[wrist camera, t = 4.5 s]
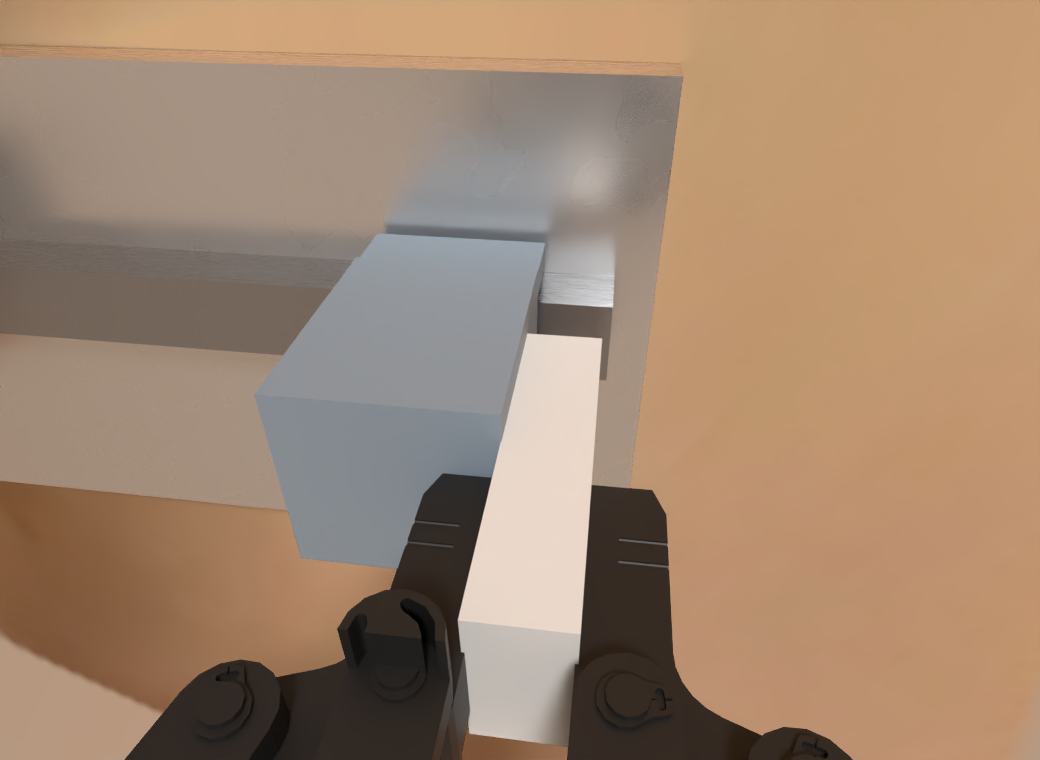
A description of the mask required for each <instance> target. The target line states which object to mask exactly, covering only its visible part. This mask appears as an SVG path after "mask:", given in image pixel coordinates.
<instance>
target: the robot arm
mask: <svg viewBox="0 0 1040 760" xmlns="http://www.w3.org/2000/svg"><path fill="white" fill-rule="evenodd" d="M601 347H602V338H588V337H573V336H558V335H542V334H527V337H526V341H525V346H524V350H523V354H522V358H521V362H520V367H519V371H518V375H517V379H516V383H515V388H514V392H513V396H512V400H511V404H510V408H509V413H508V417H507V421H506V425H505V429H504V434H503V438H502V442H501V443H500V447H499V451H498V455H497V459H496V463H495V468H494V472H493V476H492V478H490V477H479V476H468V475H457V474H446V473H443V474H442V475H441V476H440V477H439V478H438V479H437V480H436V481H435V482H434V483H433V484H432V485H431V486H430V487H429V488H428V490H427V491H426V492H425V493H424V494H423V496H422V499H421V502H420V505H419V508H418V511H417V514H416V517H415V522H414V524H413V525H412V528H411V531H410V534H409V537H408V542H407V545H405V548H404V551H403V554H402V557H401V560H400V563H399V566H398V569H397V571H396V574H395V577H394V580H393V583H392V586H391V589H390V590H385V591H382V592H379V593H377V594H374V595H372V596H369V597H366V598H364V599H363V600H362V601H361V602H359V603H358V604H357V605H356V606H354V607H353V608H352V609H351V610H349V611H348V613H347V614H346V616H345V618H344V619H343V621H342V622H341V624H340V625H339V627H338V629H337V630H338V633H339V637H340V641H341V644H342V648H343V651H344V655H345V658H346V659H344V660H342V661H340V662H338V663H337V664H334V665H330V666H327V667H324V668H321V669H316V670H311V671H306V672H301V673H296V674H291V675H286V676H280V677H275V675H274V673H273V672H272V671H270V670H269V669H267V668H266V667H265V666H263V665H262V664H261V663H258V662H252V661H246V660H237V661H231V662H226V663H221V664H218V665H217V666H215V667H213V668H211V669H209V670H207V671H205V672H203V673H201V674H199V675H198V676H197V677H196V678H195V679H194V680H193V681H192V682H191V683H189V684H188V685H187V686H186V687H185V688H184V689H183V690H182V691H181V692H180V693H179V694H178V696H177V697H176V698H175V699H174V700H173V702H172V703H171V704H170V705H169V707H168V708H167V709H166V710H165V711H164V713H163V714H162V715H161V716H160V717H159V719H158V720H157V721H156V722H155V724H154V725H153V726H152V727H151V729H150V730H149V731H148V732H147V733H146V734H145V736H144V737H143V738H142V739H141V740H140V742H139V743H138V744H137V745H136V747H135V748H134V749H133V750H132V751H131V753H130V754H129V755H128V756H127V757H126V759H125V760H462V750H463V745H464V740H465V735H466V730H467V725H468V724H469V733H470V734H476V735H483V736H491V737H498V738H506V739H513V740H520V741H528V742H535V743H543V744H550V745H558V746H565V747H568V756H567V760H852V758H851V757H850V756H849V755H847V754H846V753H845V752H844V751H843V750H842V749H840V748H839V747H838V746H837V745H836V744H834V743H833V742H832V741H831V740H830V739H827V738H825V737H823V736H821V735H818V734H816V733H814V732H812V731H810V730H807V729H800V728H788V727H782V728H779V729H777V730H774V731H771V732H768V733H765V734H764V735H763V736H761V735H759V734H757V733H755V732H753V731H750V730H748V729H746V728H744V727H742V726H740V725H737V724H735V723H733V722H731V721H729V720H726V719H724V718H722V717H720V716H719V715H717V714H715V713H714V712H712V711H710V710H708V709H707V708H705V707H704V706H703V705H702V704H701V703H700V702H699V701H698V700H696V699H695V698H694V697H693V696H692V695H691V693H690V692H689V691H688V689H687V688H686V687H685V685H684V684H683V683H682V681H681V678H680V676H679V674H678V672H677V669H676V667H675V661H674V656H673V643H672V622H671V602H670V581H669V570H668V566H669V561H668V547H667V543H668V541H667V520H666V514H665V512H664V510H663V508H662V507H661V505H660V503H659V501H658V500H657V498H656V496H655V494H654V493H653V491H652V490H643V489H632V488H621V487H610V486H599V485H592V471H593V458H594V444H595V430H596V416H597V402H598V389H599V375H600V361H601Z"/></svg>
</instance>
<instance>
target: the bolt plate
mask: <svg viewBox="0 0 1040 760" xmlns="http://www.w3.org/2000/svg"><path fill="white" fill-rule="evenodd" d="M682 82H683V74H682V70H681V66H680V64H671V63H634V62H597V61H560V60H523V59H486V58H449V57H412V56H376V55H339V54H302V53H265V52H228V51H191V50H154V49H117V48H80V47H43V46H6V45H0V481H7V482H17V483H27V484H36V485H46V486H55V487H65V488H75V489H84V490H94V491H103V492H113V493H123V494H132V495H142V496H151V497H161V498H171V499H180V500H190V501H199V502H209V503H219V504H228V505H238V506H247V507H257V508H267V509H276V510H286V511H288V510H287V507H286V503H285V500H284V497H283V493H282V490H281V486H280V483H279V479H278V476H277V472H276V469H275V465H274V462H273V458H272V455H271V451H270V448H269V444H268V441H267V438H266V434H265V431H264V427H263V424H262V420H261V417H260V413H259V410H258V406H257V403H256V399H255V396H254V394H255V392H256V391H257V390H258V388H259V387H260V386H261V384H262V383H263V382H264V380H265V379H266V377H267V376H268V375H269V373H270V372H271V371H272V369H273V368H274V367H275V365H276V364H277V363H278V361H279V360H280V359H281V357H282V356H283V355H284V353H285V352H286V351H287V349H288V348H289V347H290V345H291V344H292V343H293V341H294V340H295V339H296V337H297V336H298V335H299V333H300V332H301V331H302V329H303V328H304V327H305V325H306V324H307V323H308V321H309V320H310V319H311V317H312V316H313V315H314V313H315V312H316V311H317V309H318V308H319V307H320V305H321V304H322V302H323V301H324V300H325V298H326V297H327V296H328V294H329V293H330V292H331V290H332V289H333V288H334V286H335V285H336V284H337V282H338V281H339V280H340V278H341V277H342V276H343V274H344V273H345V272H346V270H347V269H348V268H349V266H350V265H351V264H352V262H353V261H354V260H355V258H356V257H359V258H360V257H361V255H362V254H363V253H364V251H365V250H366V248H367V247H368V246H369V244H370V243H371V242H372V240H373V239H374V238H375V236H376V235H377V234H396V235H413V236H431V237H449V238H466V239H484V240H501V241H519V242H537V243H545V268H544V272H543V276H542V281H541V285H540V289H539V293H538V299H537V334H542V335H558V336H573V337H588V338H602V347H601V361H600V375H599V389H598V402H597V416H596V430H595V444H594V458H593V471H592V485H599V486H610V487H621V488H630V481H631V474H632V466H633V458H634V450H635V443H636V435H637V427H638V420H639V412H640V404H641V397H642V389H643V381H644V374H645V366H646V358H647V351H648V343H649V335H650V328H651V320H652V312H653V304H654V297H655V289H656V281H657V274H658V266H659V258H660V251H661V243H662V235H663V228H664V220H665V212H666V205H667V197H668V189H669V182H670V174H671V166H672V158H673V151H674V143H675V135H676V128H677V120H678V112H679V105H680V97H681V89H682Z"/></svg>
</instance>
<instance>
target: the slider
mask: <svg viewBox="0 0 1040 760" xmlns="http://www.w3.org/2000/svg"><path fill="white" fill-rule="evenodd" d="M544 268H545V243H537V242H519V241H501V240H484V239H466V238H449V237H431V236H413V235H396V234H377V235H376V236H375V238H374V239H373V240H372V242H371V243H370V244H369V246H368V247H367V248H366V250H365V251H364V253H363V254H362V255H361V257H360V258H359V257H356V258H355V260H354V261H353V262H352V264H351V265H350V266H349V268H348V269H347V270H346V272H345V273H344V274H343V276H342V277H341V278H340V280H339V281H338V282H337V284H336V285H335V286H334V288H333V289H332V290H331V292H330V293H329V294H328V296H327V297H326V298H325V300H324V301H323V302H322V304H321V305H320V307H319V308H318V309H317V311H316V312H315V313H314V315H313V316H312V317H311V319H310V320H309V321H308V323H307V324H306V325H305V327H304V328H303V329H302V331H301V332H300V333H299V335H298V336H297V337H296V339H295V340H294V341H293V343H292V344H291V345H290V347H289V348H288V349H287V351H286V352H285V353H284V355H283V356H282V357H281V359H280V360H279V361H278V363H277V364H276V365H275V367H274V368H273V369H272V371H271V372H270V373H269V375H268V376H267V377H266V379H265V380H264V382H263V383H262V384H261V386H260V387H259V388H258V390H257V391H256V392H255V394H254V396H255V399H256V403H257V406H258V410H259V413H260V417H261V420H262V424H263V427H264V431H265V434H266V438H267V441H268V444H269V448H270V451H271V455H272V458H273V462H274V465H275V469H276V472H277V476H278V479H279V483H280V486H281V490H282V493H283V497H284V500H285V503H286V507H287V510H288V514H289V517H290V521H291V524H292V528H293V531H294V535H295V538H296V542H297V545H298V549H299V552H300V555H301V558H304V559H313V560H322V561H330V562H339V563H348V564H357V565H366V566H375V567H384V568H393V569H398V566H399V563H400V560H401V557H402V554H403V551H404V548H405V545H407V542H408V537H409V534H410V531H411V528H412V525H413V524H414V522H415V517H416V514H417V511H418V508H419V505H420V502H421V499H422V496H423V494H424V493H425V492H426V491H427V490H428V488H429V487H430V486H431V485H432V484H433V483H434V482H435V481H436V480H437V479H438V478H439V477H440V476H441V475H442V474H443V473H446V474H457V475H468V476H479V477H490V478H492V476H493V472H494V468H495V463H496V459H497V455H498V451H499V447H500V443H501V442H502V438H503V434H504V429H505V425H506V421H507V417H508V413H509V408H510V404H511V400H512V396H513V392H514V388H515V383H516V379H517V375H518V371H519V367H520V362H521V358H522V354H523V350H524V346H525V341H526V337H527V334H537V299H538V293H539V289H540V285H541V281H542V276H543V272H544Z"/></svg>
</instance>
